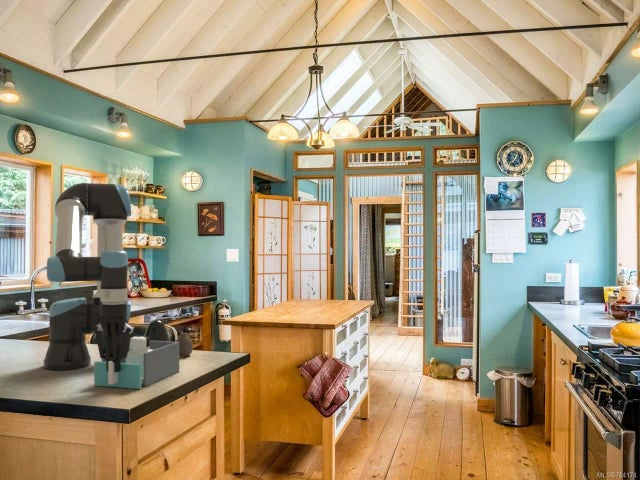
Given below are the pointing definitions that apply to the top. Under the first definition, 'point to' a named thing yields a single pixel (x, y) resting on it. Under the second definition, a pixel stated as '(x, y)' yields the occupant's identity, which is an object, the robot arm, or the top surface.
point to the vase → (184, 345)
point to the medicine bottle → (138, 350)
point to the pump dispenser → (157, 331)
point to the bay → (159, 361)
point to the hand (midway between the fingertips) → (113, 382)
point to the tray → (120, 375)
